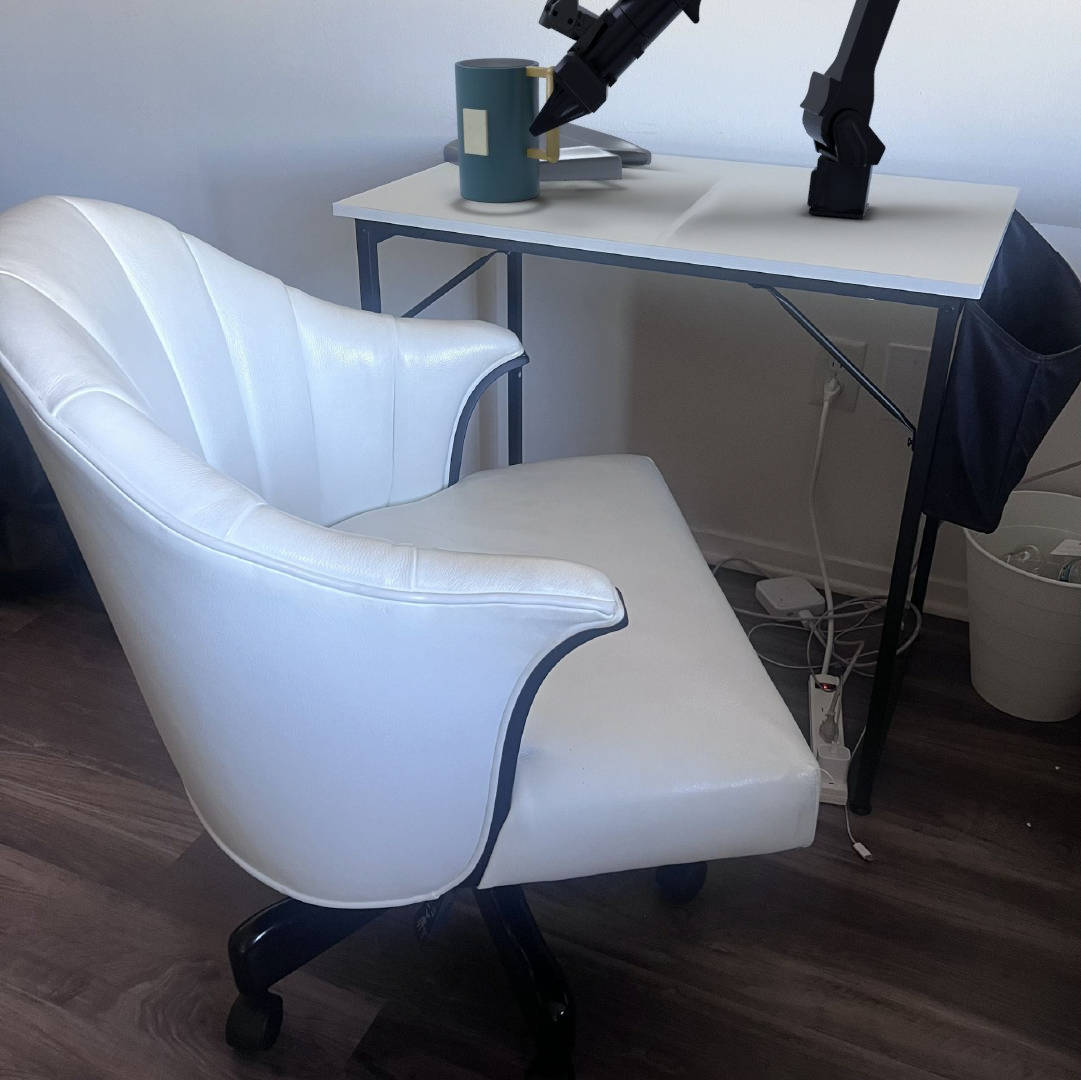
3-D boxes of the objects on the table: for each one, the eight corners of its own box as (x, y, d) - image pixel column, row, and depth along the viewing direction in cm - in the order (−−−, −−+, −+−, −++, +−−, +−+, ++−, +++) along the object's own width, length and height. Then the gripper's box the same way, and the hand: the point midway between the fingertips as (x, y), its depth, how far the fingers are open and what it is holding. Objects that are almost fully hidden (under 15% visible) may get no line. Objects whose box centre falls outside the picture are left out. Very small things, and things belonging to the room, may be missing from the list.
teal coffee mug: (575, 201, 126) (576, 64, 118) (504, 213, 121) (501, 71, 113) (510, 180, 136) (508, 53, 128) (443, 191, 131) (436, 59, 123)
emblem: (676, 123, 149) (594, 158, 128) (674, 162, 152) (593, 202, 131) (507, 109, 161) (406, 139, 140) (508, 145, 163) (409, 180, 142)
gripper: (589, -41, 119) (497, 63, 126) (576, -33, 103) (471, 85, 110) (654, 35, 122) (561, 133, 129) (651, 54, 107) (545, 164, 113)
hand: (535, 127), depth 120 cm, fingers open, 7 cm apart
